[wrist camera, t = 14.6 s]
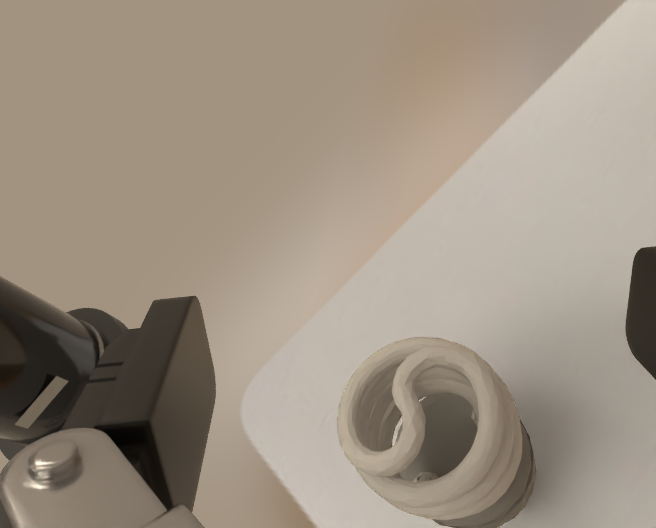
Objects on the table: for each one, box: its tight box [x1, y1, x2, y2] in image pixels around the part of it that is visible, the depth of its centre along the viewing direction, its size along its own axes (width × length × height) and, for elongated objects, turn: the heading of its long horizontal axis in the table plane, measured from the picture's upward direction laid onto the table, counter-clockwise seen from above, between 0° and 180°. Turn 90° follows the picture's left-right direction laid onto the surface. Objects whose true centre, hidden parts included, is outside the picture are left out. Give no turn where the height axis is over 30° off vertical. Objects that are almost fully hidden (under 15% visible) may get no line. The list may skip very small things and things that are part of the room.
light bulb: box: [337, 337, 536, 528], centre depth 23 cm, size 6×6×12 cm
